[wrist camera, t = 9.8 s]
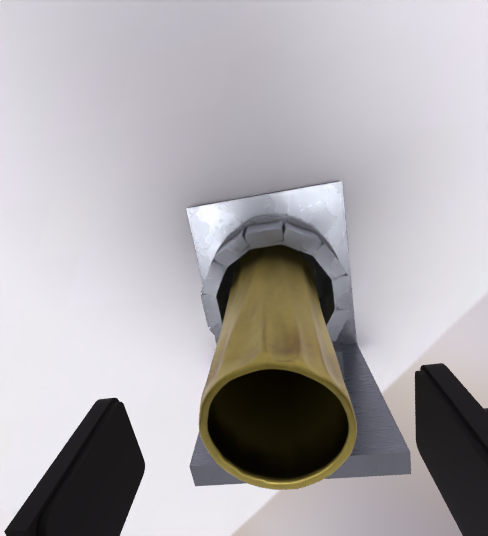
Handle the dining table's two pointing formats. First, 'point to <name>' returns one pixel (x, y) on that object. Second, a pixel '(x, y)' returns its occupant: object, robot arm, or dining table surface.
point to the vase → (276, 379)
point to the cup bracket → (330, 297)
